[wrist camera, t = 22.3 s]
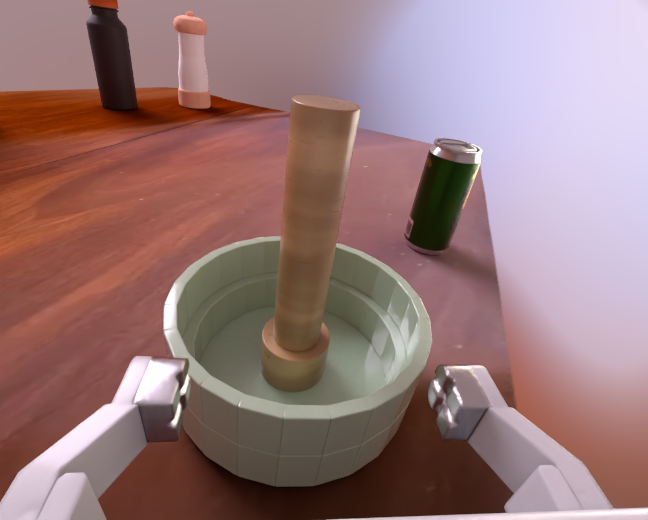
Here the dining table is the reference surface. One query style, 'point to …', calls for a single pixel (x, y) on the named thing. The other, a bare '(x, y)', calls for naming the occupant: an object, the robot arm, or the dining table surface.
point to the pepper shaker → (192, 62)
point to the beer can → (441, 195)
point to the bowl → (306, 406)
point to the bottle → (111, 56)
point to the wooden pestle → (308, 239)
